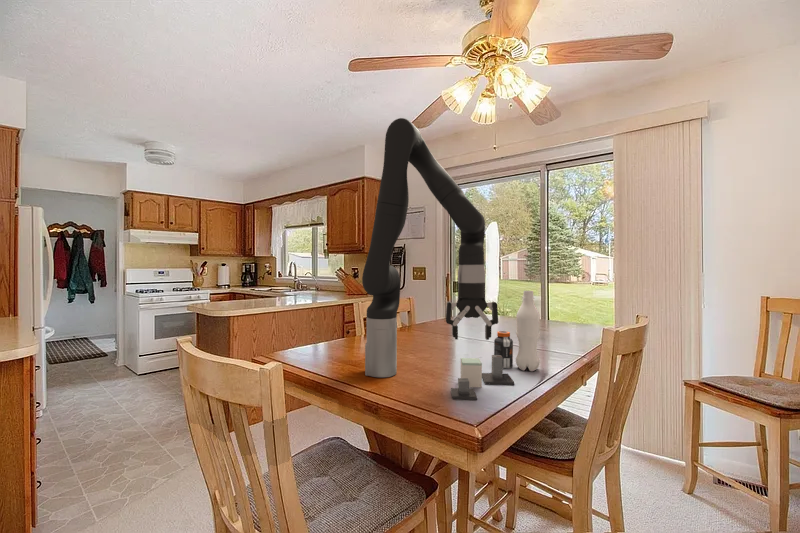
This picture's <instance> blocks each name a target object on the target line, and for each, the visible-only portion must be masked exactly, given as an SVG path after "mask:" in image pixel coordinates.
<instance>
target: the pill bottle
mask: <svg viewBox="0 0 800 533" xmlns="http://www.w3.org/2000/svg"><path fill="white" fill-rule="evenodd" d="M496 336H497V337H495V338H494V340H493V341H494V342H493V344H494V345H493V355H501V356H502V357H503V369H510V368H513V365H514V364H513V363H514V362H513V361H514V360H513V358H514V356H513V355H514V340H513V339H512V338H511V332H509V331H505V330H503V331H502V330H499V331H497V334H496Z"/></svg>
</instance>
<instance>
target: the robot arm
mask: <svg viewBox="0 0 800 533" xmlns="http://www.w3.org/2000/svg"><path fill="white" fill-rule="evenodd" d="M385 132H386V133H385V139H384V153H383V154H384V156H383V167H382V168H383V169H382V175H381V178H380V183H379V184H380V185H379V191H378V196H377V202H376V206H375V212H374V213H375V214H374V222H373V227H372V233H371V239H370V244H369V245H370V246H369V250H368V253H367V256H366V260H365V264H364V267H363V271H362V278H361V280H362V281H361V282H362V287H363V289H364V291H365V292H366V293H367V295H370V296H372V301H371V302H370V305H368V307H367V308H366V341H365V345H364V350H365V351H364V354H365V355H364V374H365V377H366V376H367V377H368V376H369V377H373V378H389V377H393V376H395V375H396V374H397V372H398V371H397V366H398V365H397V361H398V359H397V355H398V354H397V350H398V349H397V346H398V345H397V342H398V340H397V339H398V333H397V332H398V330H397V328H398V326H397V325H398V322H397V320H398V319H397V318H398V310H399V307H400V300H401V299H400V298H401V278H400V273H399V271H398V269H397V268H396V267H395V266H394V265H391V259H392V254H393V250H394V248H395V245H396V243H397V241H398V239H399V237H400V236H401V233H402V232H403V229H404V227H405V224H406V221H407V214H408V209H409V203H410V202H409V194H410V193H409V183H408V165H409V163H410V165H412V166H413V168H415V170H416V171H417V172H418V173H419V175H420V176H421V178H422V179H423V181H424V182H425V184H426V185H427V186H426V187H428V189H429V191H430V192H431V193H432V195H433V196H434V197H435V199H436V200H437V201H438V203H439V205H441V206H442V208H444V210H445V211H446V212H447V213H448V215H449V216H450V218H451V220H452V221H453V223H454V225H456V227H457V229H459V231H460V245H459V248H458V270H457V301H456V302H451V301H447V302H446V307H445V308H446V309H445V310H446V311H445V323H446V324H448V325H450V326H452V327H451V328H452V329H451V331H452V332H451V333H452V337H453V338H454V340H459V338H458V337H459V332H458V331H459V327H458V326H459V325H458V324H459V323H460V321H462V320H463V318H467V319H470V318H474V319H478V318H480V319H482V321H483V322H484V323H485V325H484V326H485V327H484V332H485V333H484V334H485V335H484V337H485V338H484V339H485V340H486V341H489V340H490V339H491V338H492V326H494V325H498V323H499V313H498V311H499V309H498V303H497V302H496V301H491V302H489V301H488V302H487V300H486V271H485V250H484V245H485V235H486V234H485V233H486V221H485V217H484V216H483V214H482V213H481V212H480V211H479V210H478V208H476V206H475V205H474V204H473V203H472V202H471V201H470V200H469V198H468V197H467V196H466V195H465V193H464V191H463V190H462V188H461V187H460V186H459V184H458V183H457V182H456V181H455V180H454V178H453V177H452V176H451V175H450V174H449V173H448V171H447V170H446V169H445V168H444V167H443V166H442V165H441V163H439V161H438V160H437V159H436V158H435V156H434V154H433V153H432V152H431V150H430V148H429V146H428V145H427V143H426V141H425V140H424V137H423V135H422V133H421V131H420V130H419V128H417V126H416V125H415V124H414V123H412V121H410V120H408V119H407V118H404V117H400V118H396V119H395V120H393V121H392V122H390V124H389V125H388V128H387V130H386V131H385ZM455 308H457V310H458V313H457V314H456V316H455V318H454V319H452V311H454V309H455ZM487 308H489V310H490V311H491V319H489V318H488V316H487V315H486V314H485V310H486V309H487Z"/></svg>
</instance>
